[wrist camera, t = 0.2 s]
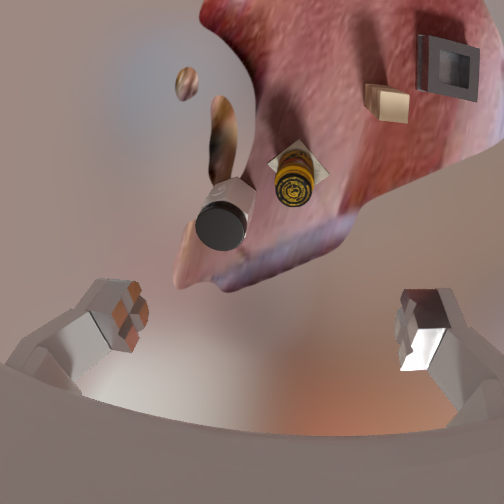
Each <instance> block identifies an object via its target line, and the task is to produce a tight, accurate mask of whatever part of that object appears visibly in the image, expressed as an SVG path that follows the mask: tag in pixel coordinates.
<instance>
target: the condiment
mask: <svg viewBox="0 0 504 504" xmlns="http://www.w3.org/2000/svg"><path fill="white" fill-rule="evenodd" d="M268 165H269V166H270V167H271V168H272V169H273V170H274V171H275V172H276V177H275V188H276V189H275V190H276V195H277V197H278V199H279V201H281V203H283V204H284V205H286V206H288V207H300V206H302V205H304V204H305V203H307V202H308V201H309V199H310V197H311V194H312V191H313V188H314V186H315V185H316V184H317V183H319V182H320V181H322V180H323V179H324V178H326V177H327V176H329V173H328V172H327V171H326V170H325V169H324V167H323V166H322V165H321V164H320V163H319V161H318V160H317V159H316V158H315V157H314V155H313V154H312V153H311V152H310V151H309V150H308V149H307V147H306V146H305V145H304V144H303V143H302V142H301V141H300V140H299V139H298V140H297V141H296V142H294V143H293V144H292V145H291V146H289V147H288V148H287V149H285V150H284V151H283V152H282V153H280V154H279V155H278V156H277V157H276V158H274V159H273V160H272V161H271V162H269V163H268Z"/></svg>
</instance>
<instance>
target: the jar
mask: <svg viewBox="0 0 504 504" xmlns="http://www.w3.org/2000/svg"><path fill="white" fill-rule="evenodd" d="M255 198H256V190H254V189H253V188H252V187H250V186H249V185H248V184H246V183H245V182H244V181H242V180H241V179H240V178H238V177H234V178H231V179H228V180H226V181H223V182H220V183H217V184H215V186H214V187H213V189H212V190H211V192H210V194H209V195H208V197H207V198H206V200H205V201H204V203H203V204H202V206H201V212H200V214H199V215H198V217H197V220H196V224H195V228H196V233H197V235H198V237H199V238H200V240H201V241H202V242H203V243H204V244H205V245H206V246H208V247H210V248H212V249H214V250H218V251H228V250H232V249H234V248H236V247H238V246H239V245H240V244H241V242H242V241H243V239H244V238H245V236H246V233H247V230H248V227H249V224H250V221H251V218H252V215H253V212H254V205H255Z"/></svg>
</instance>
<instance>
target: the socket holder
mask: <svg viewBox="0 0 504 504" xmlns="http://www.w3.org/2000/svg"><path fill="white" fill-rule="evenodd" d="M479 62H480V49H479V48H475V47H472V46H469V45H465V44H462V43H458V42H455V41H451V40H447V39H443V38H439V37H434V36H430V35H421V34H417V70H416V90H419V91H424V92H430V93H435V94H441V95H446V96H450V97H455V98H460V99H464V100H468V101H472V102H477V97H478V84H479Z"/></svg>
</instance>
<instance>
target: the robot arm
mask: <svg viewBox="0 0 504 504" xmlns="http://www.w3.org/2000/svg"><path fill="white" fill-rule="evenodd" d="M141 291H142V290H141V287H140V285H139V283H138V282H136V281H129V280H119V279H106V278H98V279H96V280H95V281H94V283H93V284H92V285H91V287H90V288H89V289H88V291H87V292H86V293H85V295H84V296H83V297H82V299H81V300H80V302H79V303H78V304H77V306H76V307H75V309H70V310H68V311H66V312H65V313H63V314H61V315H60V316H58V317H57V318H55V319H53V320H52V321H50V322H48V323H47V324H45V325H44V326H42V327H41V328H39V329H37V330H36V331H34V332H32V333H31V334H29V335H28V336H26V337H24V338H23V339H22V340H21V341H20V343H19V344H18V345H17V347H16V348H15V350H14V351H13V353H12V354H11V356H10V357H9V359H8V360H7V362H6V363H5V365H4V364H2V363H0V504H504V355H503V354H502V353H501V352H500V351H499V350H498V349H496V348H495V347H494V346H493V345H492V344H491V343H489V342H488V341H487V340H486V339H485V338H484V337H483V336H481V335H480V334H479V333H478V332H477V331H475V330H474V329H473V328H472V327H467V325H466V322H465V319H464V317H463V314H462V312H461V310H460V307H459V305H458V302H457V300H456V298H455V295H454V293H453V291H452V289H450V288H435V289H404V291H403V292H402V296H401V304H402V307H401V308H400V309H398V310H397V313H396V318H395V326H394V328H395V338H396V341H397V342H398V343H399V344H400V345H401V346H400V349H399V351H398V356H399V361H400V367H401V371H402V370H427V372H428V373H429V375H430V376H431V377H432V378H433V380H434V381H435V382H436V383H437V385H438V386H439V387H440V389H441V390H442V391H443V392H444V394H445V395H446V396H447V398H448V399H449V400H450V402H451V403H452V404H453V406H454V407H455V408H456V409H457V411H458V413H457V414H456V415H455V416H454V418H453V419H452V420H451V421H450V422H449V423H448V424H447V426H446V428H442V429H435V430H427V431H419V432H409V433H399V434H386V435H367V436H303V435H302V436H301V435H284V434H270V433H259V432H249V431H240V430H232V429H224V428H217V427H210V426H204V425H198V424H192V423H187V422H182V421H177V420H171V419H167V418H162V417H157V416H153V415H149V414H145V413H140V412H136V411H132V410H129V409H125V408H121V407H118V406H114V405H111V404H107V403H104V402H100V401H97V400H94V399H91V398H88V397H85V396H82V393H81V391H80V389H79V388H78V387H77V386H76V385H75V384H74V383H75V382H76V381H77V380H78V379H79V378H80V377H82V376H83V375H84V374H85V373H86V372H87V371H88V370H90V369H91V368H92V367H93V366H94V365H95V364H97V363H98V362H99V361H100V360H101V359H103V358H104V357H105V356H106V355H107V354H108V353H109V352H111V350H116V351H122V352H129V353H132V352H133V350H134V348H135V346H136V344H137V342H138V340H139V334H138V332H139V331H141V330H142V329H144V328H145V326H146V324H147V321H148V316H149V309H148V305H147V302H146V300H145V299H144V298H142V297H141V296H140V294H141Z"/></svg>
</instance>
